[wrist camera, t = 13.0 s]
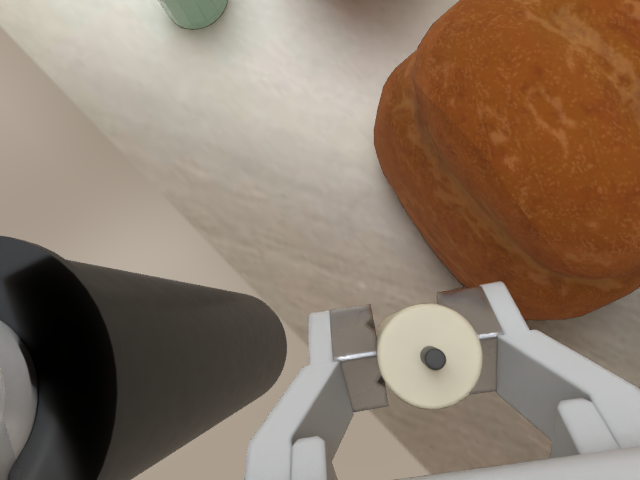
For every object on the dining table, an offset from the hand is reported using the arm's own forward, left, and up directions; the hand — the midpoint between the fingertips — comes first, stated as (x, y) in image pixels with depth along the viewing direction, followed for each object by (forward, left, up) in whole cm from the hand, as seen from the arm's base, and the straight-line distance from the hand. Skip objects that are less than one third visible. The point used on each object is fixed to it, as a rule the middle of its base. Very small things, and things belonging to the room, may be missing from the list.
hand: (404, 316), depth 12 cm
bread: (+15, +5, -22) cm, 28 cm away
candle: (0, -1, -4) cm, 4 cm away
